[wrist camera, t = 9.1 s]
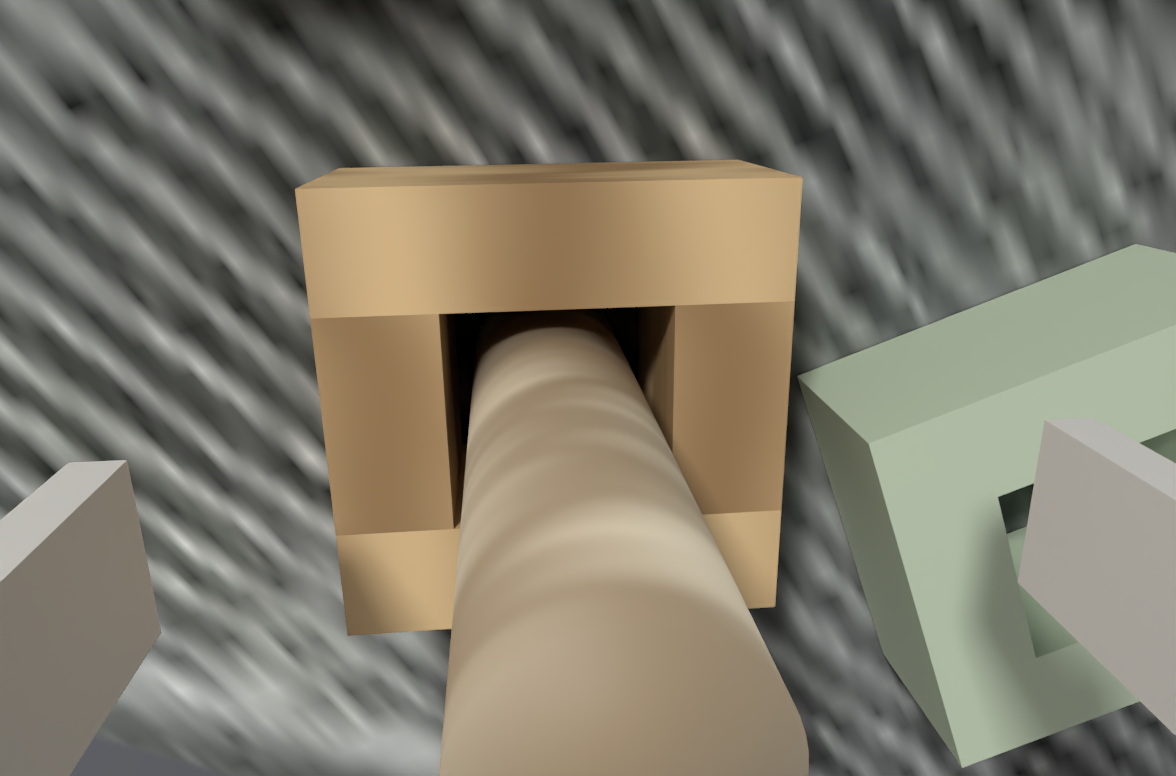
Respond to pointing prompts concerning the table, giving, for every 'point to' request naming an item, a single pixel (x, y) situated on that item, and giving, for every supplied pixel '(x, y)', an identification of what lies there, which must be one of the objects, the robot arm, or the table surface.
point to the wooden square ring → (543, 282)
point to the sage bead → (989, 485)
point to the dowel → (594, 583)
